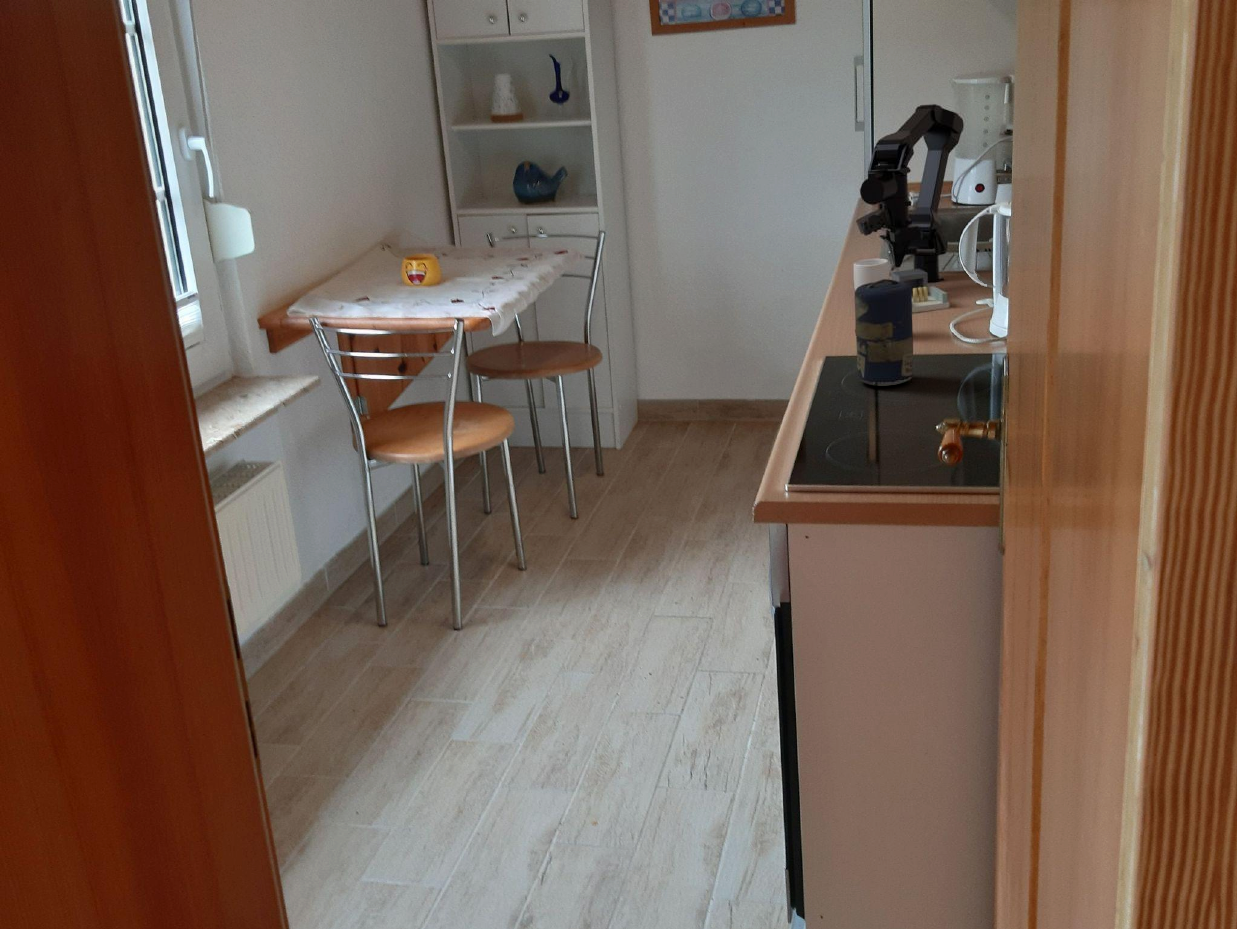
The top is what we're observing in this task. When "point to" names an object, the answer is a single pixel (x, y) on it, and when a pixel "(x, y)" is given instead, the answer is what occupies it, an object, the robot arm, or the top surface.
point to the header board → (928, 299)
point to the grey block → (912, 278)
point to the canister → (884, 331)
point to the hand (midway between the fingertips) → (897, 267)
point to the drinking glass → (870, 271)
